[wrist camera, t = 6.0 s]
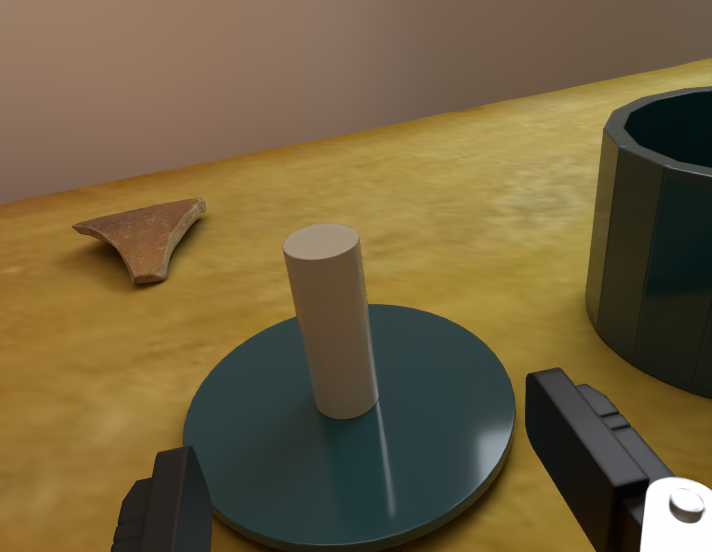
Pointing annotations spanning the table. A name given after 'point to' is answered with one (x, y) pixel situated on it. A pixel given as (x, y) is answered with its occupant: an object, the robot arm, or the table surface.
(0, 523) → the table surface
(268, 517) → the lid
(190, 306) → the table surface
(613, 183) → the pot
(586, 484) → the robot arm
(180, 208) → the pottery shard
